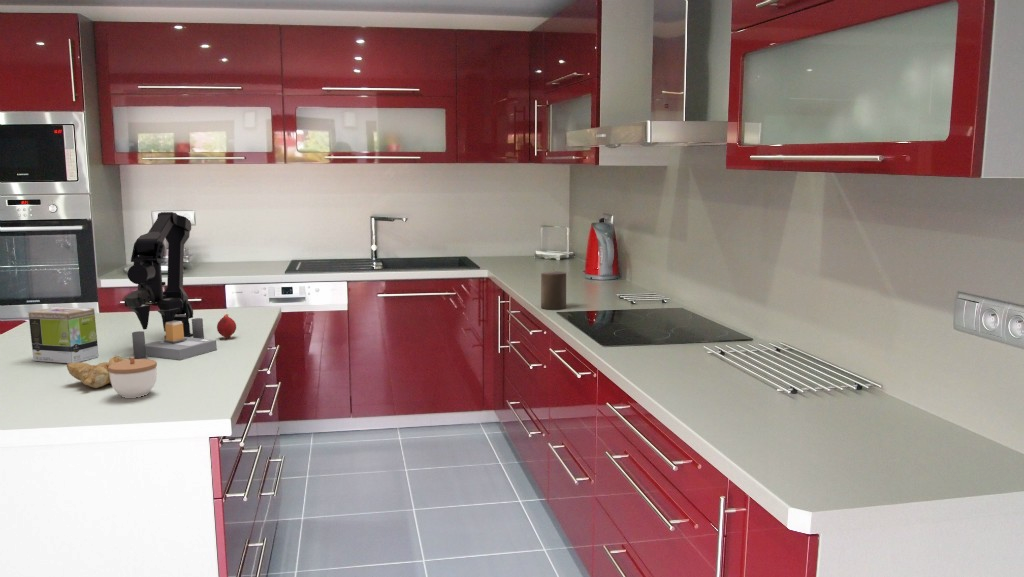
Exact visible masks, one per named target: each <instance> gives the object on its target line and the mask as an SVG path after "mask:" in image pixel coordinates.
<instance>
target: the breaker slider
mask: <svg viewBox="0 0 1024 577" xmlns="http://www.w3.org/2000/svg"><path fill="white" fill-rule="evenodd" d="M164 333H165V336H166V337H165V339H166V340H164V339H162V340H163V342H170V343H176V342H180V341H184V340H187V338H184V331H183V323H182V321H175V320H174V321H169V322H166V324H165V331H164Z"/></svg>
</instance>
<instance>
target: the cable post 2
mask: <svg viewBox="0 0 1024 577" xmlns="http://www.w3.org/2000/svg"><path fill="white" fill-rule="evenodd" d="M203 322H204V318H202V317H201V318H200V317H196V318H191V329H192V330H191V331H192V334H193V335H192V338H200V339H205V337H204V336H205V335H204V323H203Z"/></svg>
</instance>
